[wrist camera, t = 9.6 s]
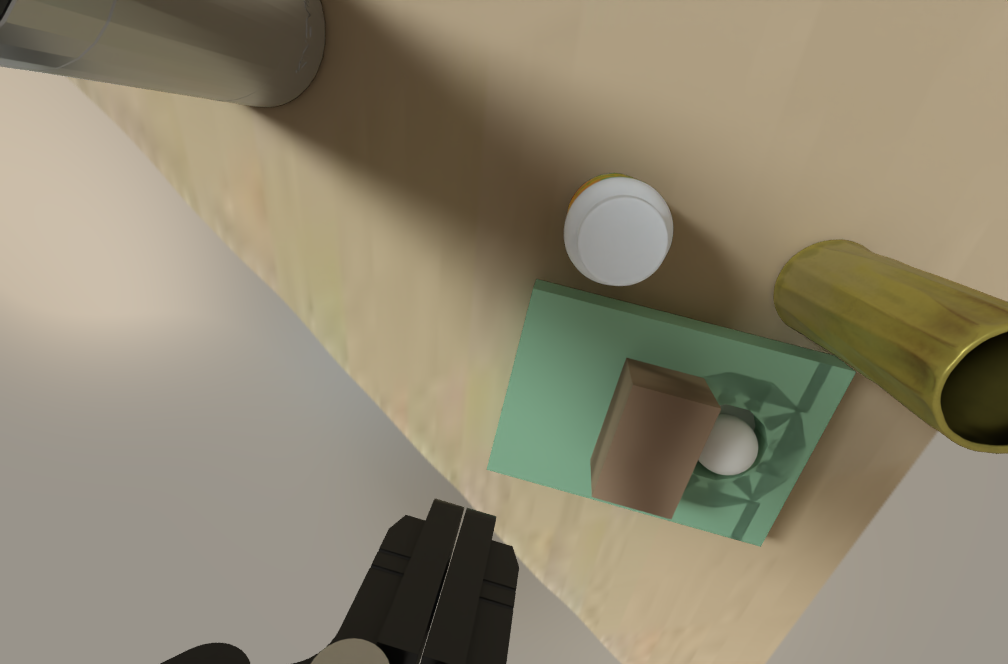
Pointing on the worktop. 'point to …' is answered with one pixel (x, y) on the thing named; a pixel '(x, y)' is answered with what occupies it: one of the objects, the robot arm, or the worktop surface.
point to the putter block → (652, 438)
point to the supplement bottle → (617, 230)
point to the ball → (729, 446)
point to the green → (677, 346)
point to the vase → (906, 336)
